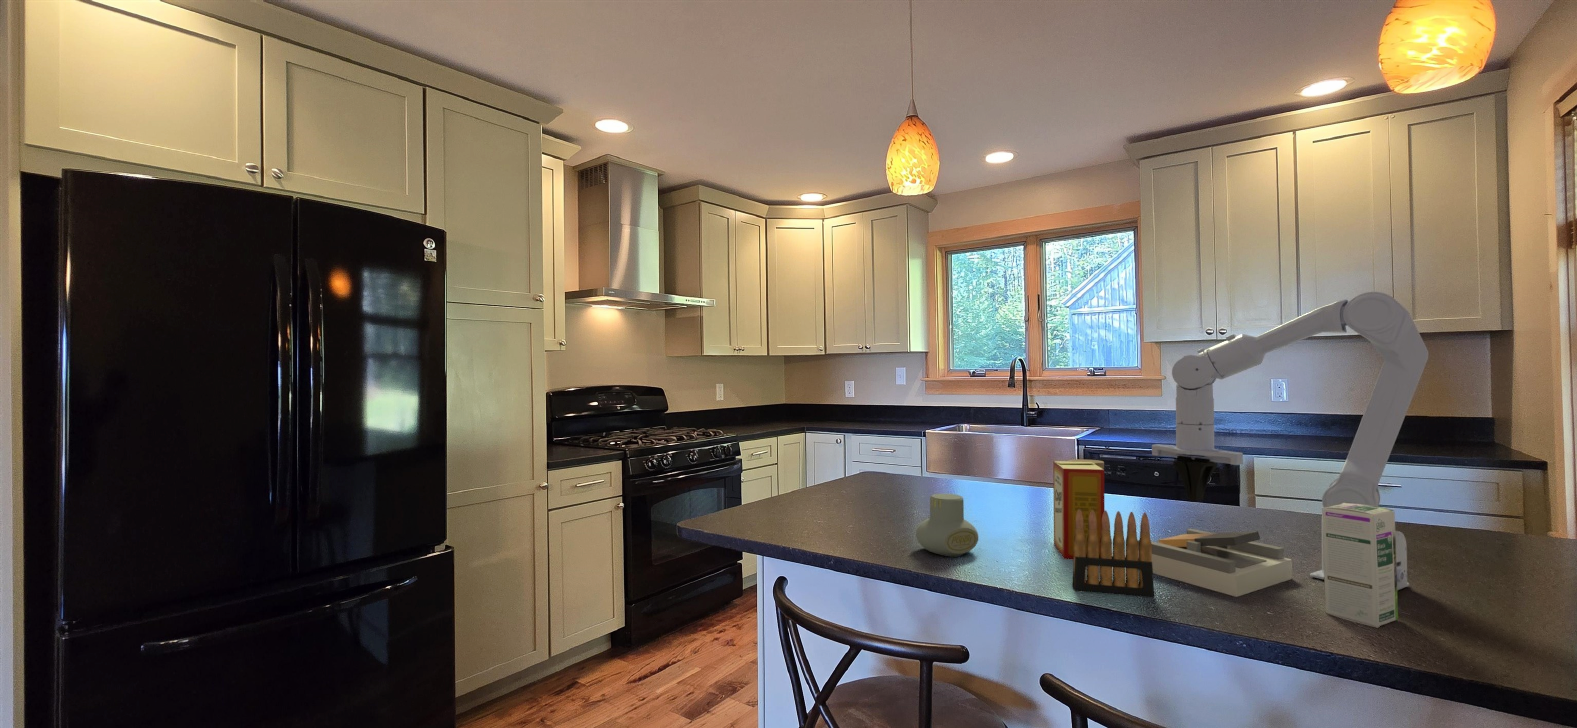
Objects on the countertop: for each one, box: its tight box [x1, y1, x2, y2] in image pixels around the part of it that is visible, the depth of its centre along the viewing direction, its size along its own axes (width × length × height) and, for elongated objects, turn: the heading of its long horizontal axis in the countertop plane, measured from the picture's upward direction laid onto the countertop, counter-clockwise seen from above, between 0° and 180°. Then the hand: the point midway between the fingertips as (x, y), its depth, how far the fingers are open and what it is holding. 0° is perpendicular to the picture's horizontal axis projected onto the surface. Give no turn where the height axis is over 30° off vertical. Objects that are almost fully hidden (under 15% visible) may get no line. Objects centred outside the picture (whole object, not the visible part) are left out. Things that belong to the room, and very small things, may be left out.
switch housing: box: [1137, 528, 1293, 598], centre depth 104 cm, size 16×16×6 cm
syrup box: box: [1321, 503, 1399, 629], centre depth 85 cm, size 6×6×14 cm
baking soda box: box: [1052, 460, 1106, 560], centre depth 116 cm, size 10×6×16 cm
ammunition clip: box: [1071, 509, 1155, 599], centre depth 95 cm, size 11×2×12 cm, turn 74°
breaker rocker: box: [1158, 531, 1261, 547], centre depth 104 cm, size 12×7×1 cm, turn 29°
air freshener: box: [915, 493, 979, 558], centre depth 117 cm, size 11×8×10 cm
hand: (1195, 500), depth 114 cm, fingers closed
